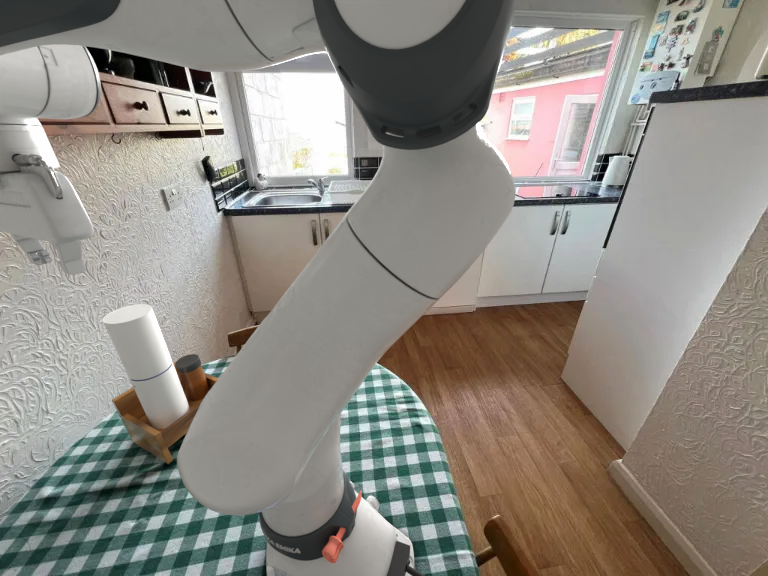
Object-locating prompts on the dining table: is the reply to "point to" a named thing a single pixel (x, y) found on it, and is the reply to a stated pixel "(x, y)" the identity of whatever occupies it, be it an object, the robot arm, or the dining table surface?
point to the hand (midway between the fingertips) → (58, 267)
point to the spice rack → (160, 439)
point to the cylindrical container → (147, 363)
